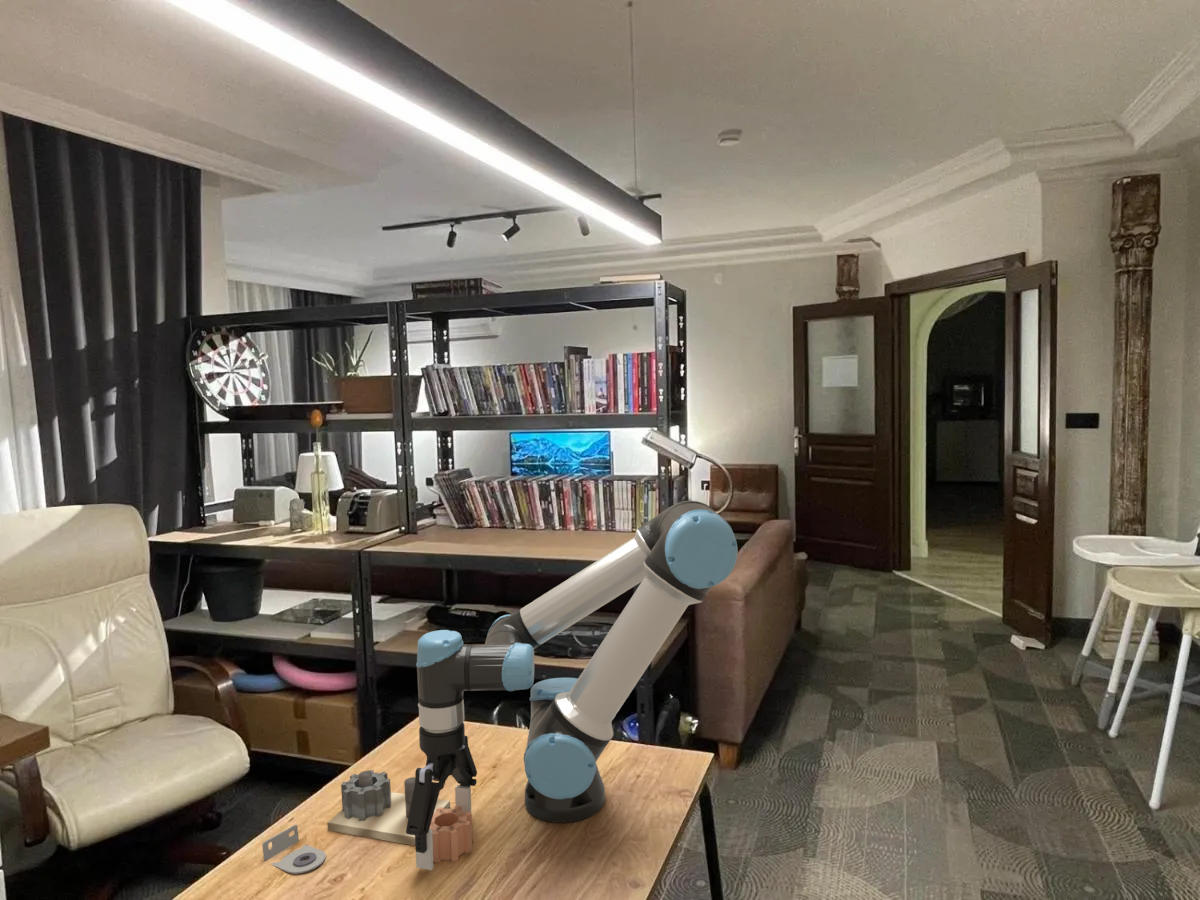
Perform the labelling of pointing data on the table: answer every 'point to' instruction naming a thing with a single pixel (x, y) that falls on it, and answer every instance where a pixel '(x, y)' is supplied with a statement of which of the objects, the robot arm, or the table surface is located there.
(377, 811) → the gear board
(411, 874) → the table surface
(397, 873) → the table surface
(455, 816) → the gear
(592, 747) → the robot arm
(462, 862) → the table surface
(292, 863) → the bracket
